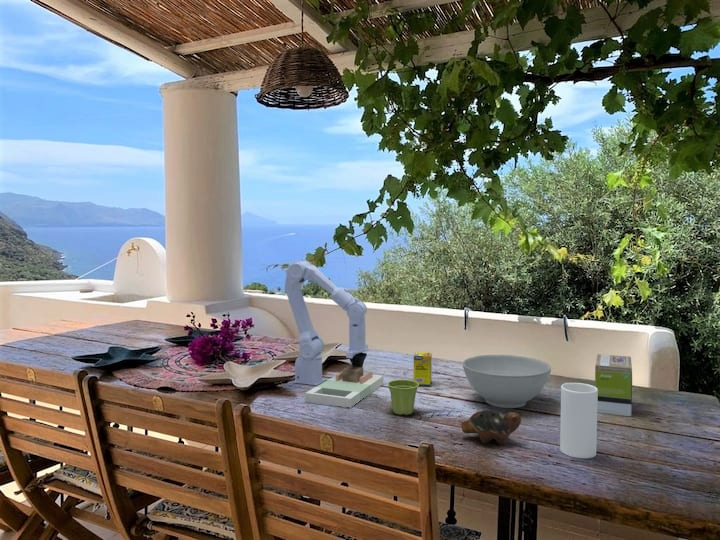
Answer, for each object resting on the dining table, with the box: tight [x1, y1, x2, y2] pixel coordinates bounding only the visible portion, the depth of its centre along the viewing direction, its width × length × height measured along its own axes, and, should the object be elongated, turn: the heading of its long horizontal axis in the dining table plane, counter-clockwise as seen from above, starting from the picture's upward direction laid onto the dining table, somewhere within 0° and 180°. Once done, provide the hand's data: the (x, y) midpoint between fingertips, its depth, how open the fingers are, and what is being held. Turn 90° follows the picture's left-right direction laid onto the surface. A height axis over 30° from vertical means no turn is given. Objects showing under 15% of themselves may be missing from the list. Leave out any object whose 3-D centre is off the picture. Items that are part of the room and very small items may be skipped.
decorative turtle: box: [460, 409, 522, 446], centre depth 137 cm, size 10×15×8 cm, turn 80°
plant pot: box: [387, 379, 420, 416], centre depth 160 cm, size 9×9×9 cm
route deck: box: [304, 370, 385, 409], centre depth 179 cm, size 16×28×5 cm, turn 156°
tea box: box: [594, 353, 633, 417], centre depth 162 cm, size 15×10×15 cm, turn 154°
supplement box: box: [413, 351, 433, 388], centre depth 188 cm, size 6×6×11 cm
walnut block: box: [341, 365, 364, 383], centre depth 184 cm, size 6×6×4 cm
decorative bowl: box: [462, 354, 552, 409], centre depth 168 cm, size 27×27×12 cm
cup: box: [559, 382, 598, 459], centre depth 130 cm, size 8×8×16 cm
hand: (357, 373), depth 188 cm, fingers closed
